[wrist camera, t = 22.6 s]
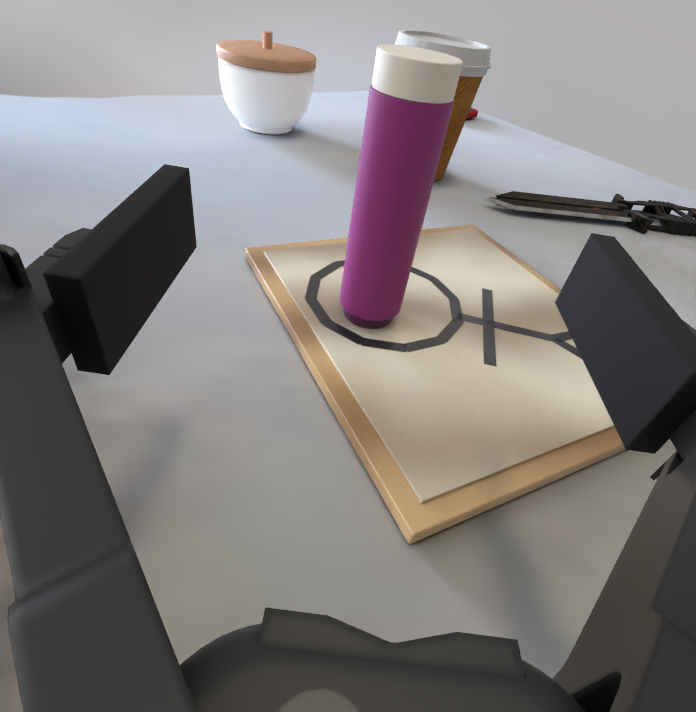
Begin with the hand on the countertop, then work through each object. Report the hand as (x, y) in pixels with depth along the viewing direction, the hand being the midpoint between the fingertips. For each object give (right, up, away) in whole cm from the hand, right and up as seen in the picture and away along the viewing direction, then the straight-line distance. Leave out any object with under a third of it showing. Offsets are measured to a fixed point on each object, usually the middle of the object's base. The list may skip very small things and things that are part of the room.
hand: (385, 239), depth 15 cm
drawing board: (+5, -2, +13) cm, 14 cm away
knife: (+25, +10, +31) cm, 41 cm away
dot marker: (0, -1, +12) cm, 12 cm away
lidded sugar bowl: (-11, +24, +39) cm, 47 cm away
